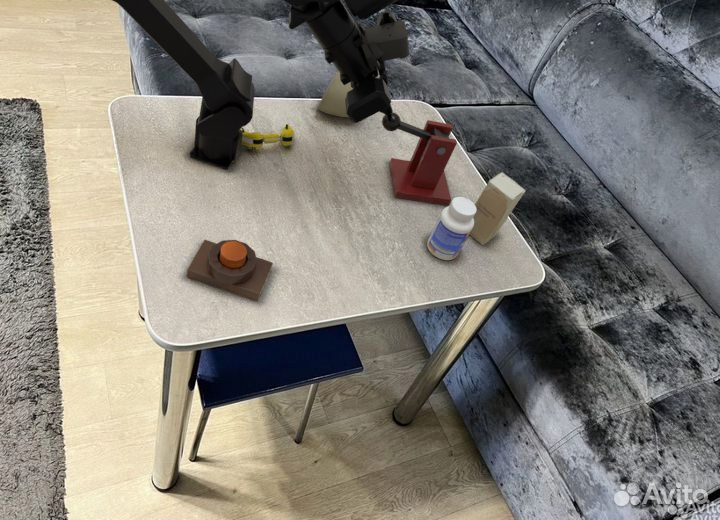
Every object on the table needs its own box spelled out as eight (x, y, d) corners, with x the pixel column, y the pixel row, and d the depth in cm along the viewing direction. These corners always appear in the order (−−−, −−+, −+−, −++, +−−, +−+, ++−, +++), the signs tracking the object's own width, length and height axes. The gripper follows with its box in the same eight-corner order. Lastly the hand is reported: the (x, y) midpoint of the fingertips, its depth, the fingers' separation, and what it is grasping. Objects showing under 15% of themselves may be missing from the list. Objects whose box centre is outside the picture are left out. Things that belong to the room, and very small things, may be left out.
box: (460, 227, 100) (487, 179, 92) (473, 217, 103) (501, 170, 95) (484, 246, 99) (513, 199, 91) (497, 236, 101) (527, 189, 93)
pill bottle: (458, 264, 94) (483, 222, 87) (427, 257, 93) (449, 214, 86) (455, 239, 98) (479, 197, 91) (425, 233, 97) (446, 190, 90)
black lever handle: (379, 131, 94) (388, 117, 92) (377, 120, 96) (386, 105, 94) (441, 155, 98) (451, 141, 96) (438, 143, 100) (448, 130, 98)
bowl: (343, 138, 112) (311, 118, 111) (362, 106, 117) (331, 87, 116) (364, 104, 103) (329, 82, 103) (382, 71, 109) (349, 50, 108)
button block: (186, 278, 79) (187, 261, 76) (204, 246, 83) (205, 229, 80) (257, 302, 79) (261, 286, 77) (271, 269, 83) (275, 253, 81)
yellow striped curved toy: (246, 156, 96) (246, 135, 95) (233, 144, 101) (232, 124, 99) (301, 150, 101) (302, 130, 99) (286, 139, 106) (287, 120, 104)
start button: (215, 263, 78) (216, 255, 76) (224, 246, 80) (226, 237, 79) (240, 272, 78) (241, 263, 76) (248, 254, 80) (250, 246, 79)
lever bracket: (394, 197, 101) (417, 143, 92) (389, 163, 107) (409, 109, 98) (448, 205, 103) (475, 153, 95) (440, 172, 109) (464, 120, 101)
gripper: (396, 38, 74) (446, 125, 84) (381, -27, 86) (426, 56, 96) (321, 81, 77) (378, 159, 88) (317, 13, 90) (368, 88, 100)
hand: (389, 112), depth 93 cm, fingers closed
